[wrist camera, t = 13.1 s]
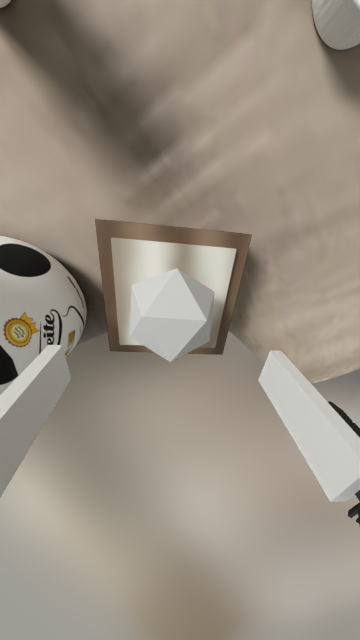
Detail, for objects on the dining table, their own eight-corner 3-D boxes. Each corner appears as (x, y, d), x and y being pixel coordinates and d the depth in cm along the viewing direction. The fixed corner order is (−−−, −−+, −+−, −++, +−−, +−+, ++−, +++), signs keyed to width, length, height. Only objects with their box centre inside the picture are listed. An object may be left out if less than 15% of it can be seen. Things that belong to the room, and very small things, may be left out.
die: (121, 277, 20) (105, 362, 16) (170, 228, 15) (164, 341, 11) (175, 302, 25) (173, 372, 21) (227, 273, 20) (238, 362, 16)
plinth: (119, 330, 30) (108, 353, 24) (110, 220, 22) (93, 219, 17) (213, 334, 31) (223, 356, 26) (234, 232, 24) (253, 234, 19)
